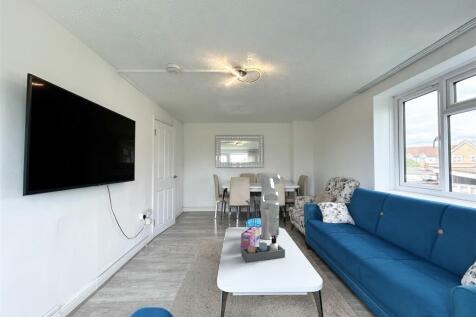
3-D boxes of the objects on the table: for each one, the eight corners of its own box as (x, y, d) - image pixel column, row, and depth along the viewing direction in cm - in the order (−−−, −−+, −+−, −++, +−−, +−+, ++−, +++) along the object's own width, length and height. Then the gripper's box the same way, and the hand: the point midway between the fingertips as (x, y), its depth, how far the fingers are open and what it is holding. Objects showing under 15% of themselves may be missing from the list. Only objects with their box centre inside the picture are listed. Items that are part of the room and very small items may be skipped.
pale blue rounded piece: (258, 250, 167) (258, 242, 167) (264, 249, 169) (264, 241, 169) (260, 253, 162) (260, 245, 162) (268, 252, 163) (267, 244, 163)
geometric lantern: (252, 227, 241) (253, 194, 241) (264, 230, 231) (265, 196, 231) (243, 230, 229) (244, 196, 229) (256, 233, 219) (257, 198, 219)
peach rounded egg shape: (246, 254, 164) (246, 245, 164) (253, 253, 166) (253, 245, 166) (249, 257, 159) (249, 248, 159) (256, 256, 161) (256, 247, 161)
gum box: (252, 241, 197) (251, 225, 197) (260, 242, 194) (260, 227, 194) (240, 251, 176) (240, 233, 176) (250, 252, 172) (250, 235, 172)
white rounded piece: (269, 251, 170) (269, 243, 170) (275, 250, 171) (275, 242, 171) (272, 254, 164) (272, 245, 164) (279, 253, 166) (279, 245, 166)
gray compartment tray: (241, 255, 166) (241, 248, 167) (277, 251, 175) (277, 244, 175) (246, 262, 155) (246, 254, 155) (285, 257, 164) (285, 249, 164)
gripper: (265, 216, 174) (265, 240, 174) (273, 222, 160) (273, 247, 160) (273, 216, 177) (273, 239, 176) (283, 221, 162) (283, 246, 162)
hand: (273, 243), depth 168 cm, fingers closed
